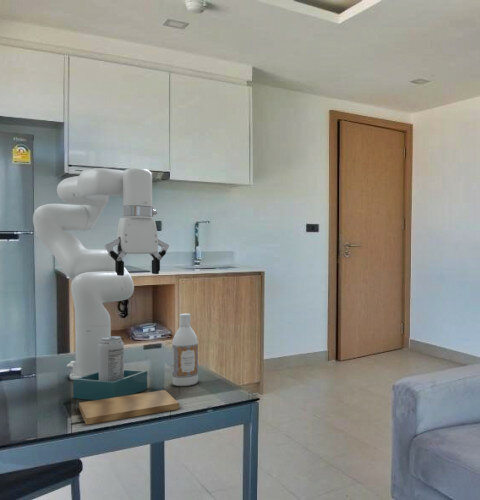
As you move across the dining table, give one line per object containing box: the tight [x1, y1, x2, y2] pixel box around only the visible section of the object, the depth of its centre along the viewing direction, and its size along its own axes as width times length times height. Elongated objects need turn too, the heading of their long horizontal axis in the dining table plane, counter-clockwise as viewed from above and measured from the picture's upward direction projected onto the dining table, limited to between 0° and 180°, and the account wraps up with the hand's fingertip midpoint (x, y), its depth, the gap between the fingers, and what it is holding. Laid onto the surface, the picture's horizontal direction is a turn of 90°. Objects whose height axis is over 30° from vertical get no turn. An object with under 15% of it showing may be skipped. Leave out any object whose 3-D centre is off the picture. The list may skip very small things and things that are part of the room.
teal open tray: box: [72, 368, 148, 401], centre depth 143 cm, size 13×13×5 cm
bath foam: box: [171, 313, 199, 387], centre depth 153 cm, size 7×7×20 cm
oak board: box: [78, 389, 180, 426], centre depth 129 cm, size 20×14×2 cm
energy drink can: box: [99, 335, 125, 382], centre depth 143 cm, size 6×6×15 cm
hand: (138, 274), depth 148 cm, fingers open, 9 cm apart
